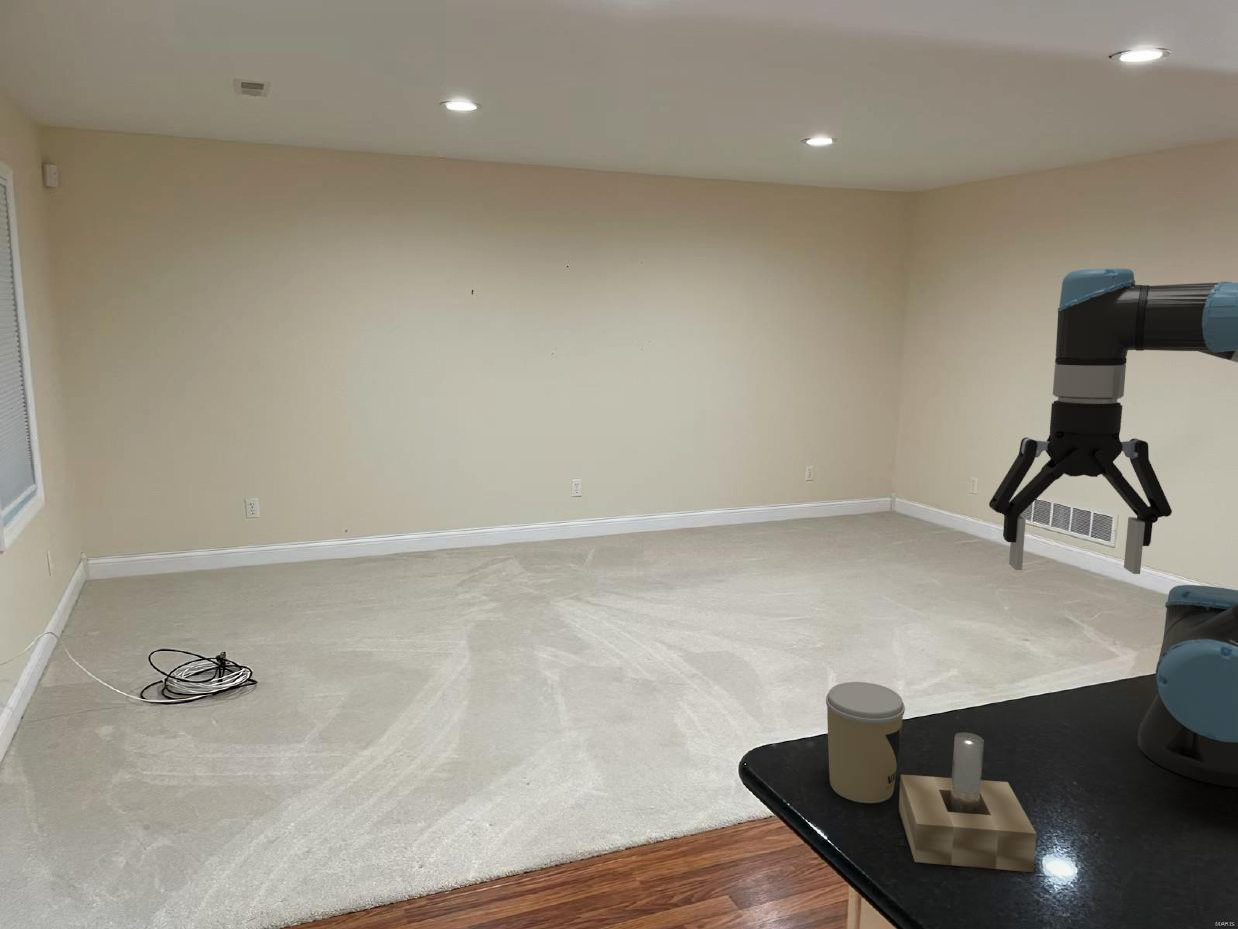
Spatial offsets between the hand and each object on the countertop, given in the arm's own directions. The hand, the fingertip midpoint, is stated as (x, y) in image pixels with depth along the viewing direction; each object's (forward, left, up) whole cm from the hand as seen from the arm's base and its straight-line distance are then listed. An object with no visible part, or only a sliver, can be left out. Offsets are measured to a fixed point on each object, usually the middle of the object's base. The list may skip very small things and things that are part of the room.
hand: (1072, 569), depth 104 cm
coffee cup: (+26, +8, -27) cm, 38 cm away
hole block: (+16, +18, -27) cm, 36 cm away
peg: (+16, +18, -27) cm, 36 cm away
